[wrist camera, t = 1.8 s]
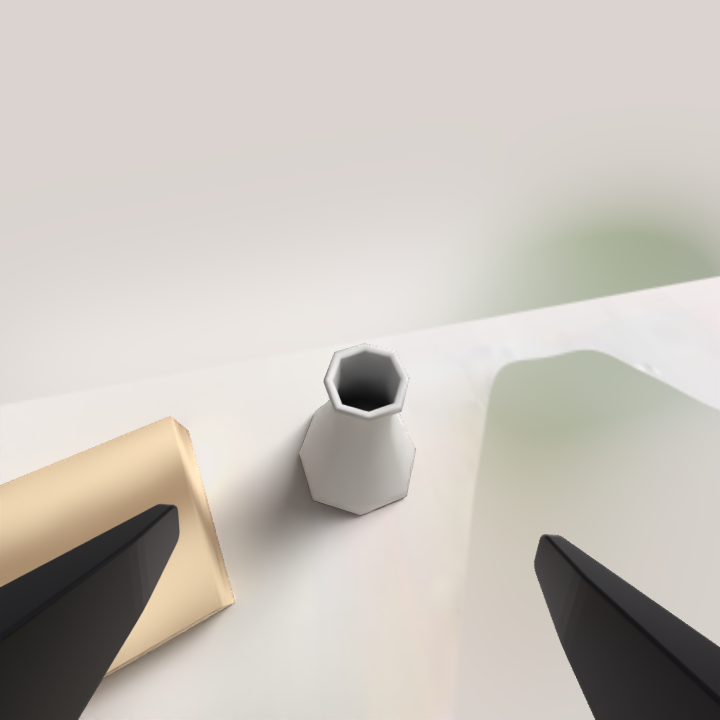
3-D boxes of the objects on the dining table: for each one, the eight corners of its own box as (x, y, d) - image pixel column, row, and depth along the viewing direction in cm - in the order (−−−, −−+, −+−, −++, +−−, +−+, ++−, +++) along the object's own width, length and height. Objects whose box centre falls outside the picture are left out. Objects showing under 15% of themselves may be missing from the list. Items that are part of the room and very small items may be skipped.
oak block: (237, 601, 17) (218, 608, 15) (10, 732, 15) (-61, 768, 12) (191, 433, 22) (170, 415, 19) (11, 509, 19) (-41, 501, 16)
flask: (302, 400, 23) (276, 303, 14) (408, 398, 23) (446, 302, 14) (296, 518, 19) (256, 484, 10) (423, 513, 19) (485, 476, 11)
